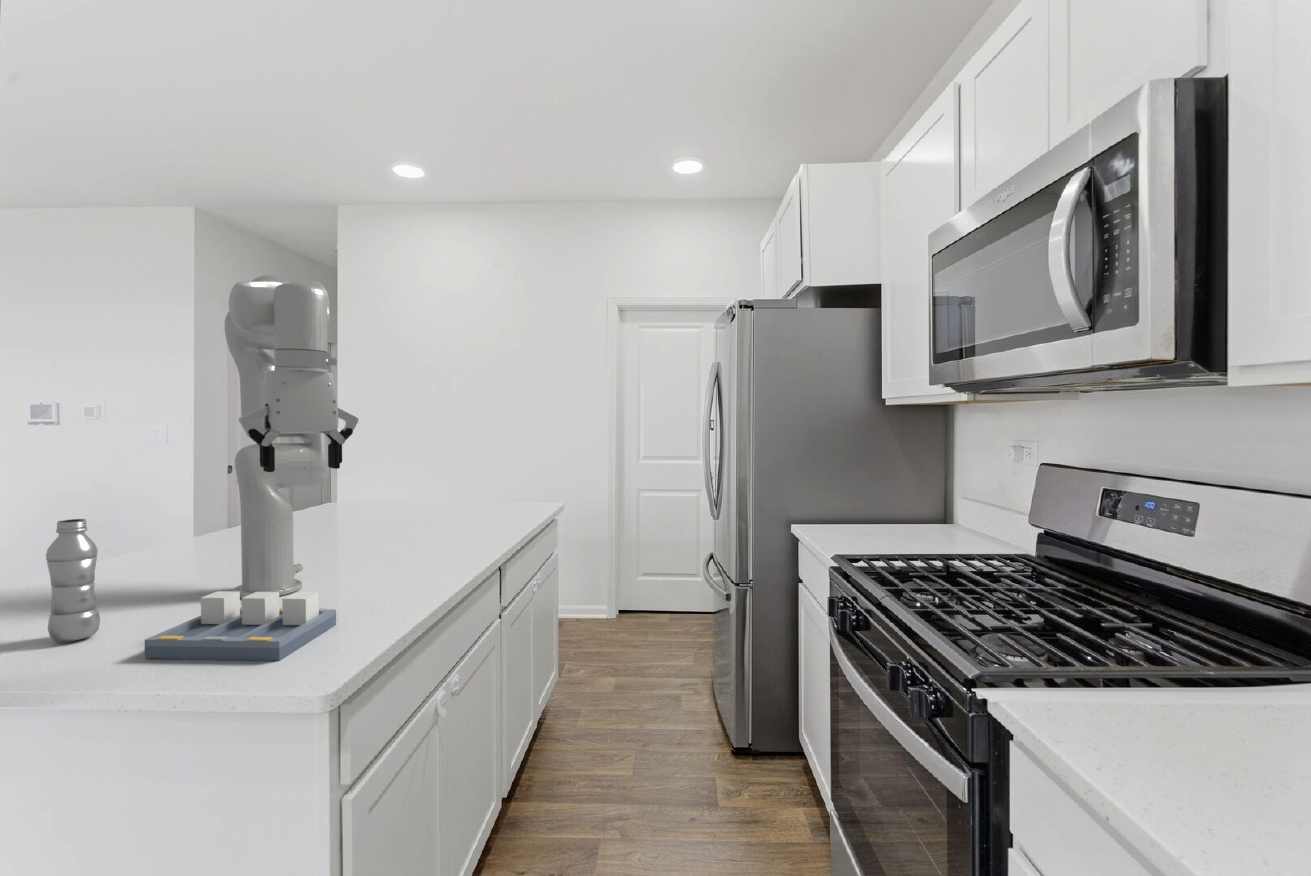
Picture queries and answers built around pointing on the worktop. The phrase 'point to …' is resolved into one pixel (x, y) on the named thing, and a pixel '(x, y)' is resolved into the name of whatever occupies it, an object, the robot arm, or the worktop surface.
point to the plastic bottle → (72, 583)
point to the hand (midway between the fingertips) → (302, 469)
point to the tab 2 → (260, 608)
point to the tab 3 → (300, 607)
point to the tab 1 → (220, 607)
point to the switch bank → (237, 639)
